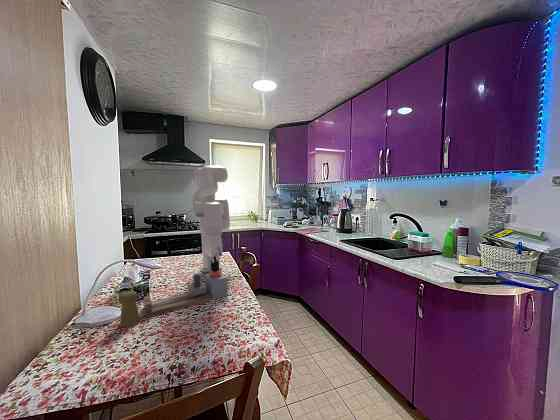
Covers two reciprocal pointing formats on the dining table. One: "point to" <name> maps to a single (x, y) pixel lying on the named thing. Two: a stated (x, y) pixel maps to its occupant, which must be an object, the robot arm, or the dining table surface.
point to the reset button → (215, 274)
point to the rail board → (172, 303)
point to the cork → (129, 309)
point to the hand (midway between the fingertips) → (215, 270)
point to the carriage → (196, 286)
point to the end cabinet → (216, 286)
